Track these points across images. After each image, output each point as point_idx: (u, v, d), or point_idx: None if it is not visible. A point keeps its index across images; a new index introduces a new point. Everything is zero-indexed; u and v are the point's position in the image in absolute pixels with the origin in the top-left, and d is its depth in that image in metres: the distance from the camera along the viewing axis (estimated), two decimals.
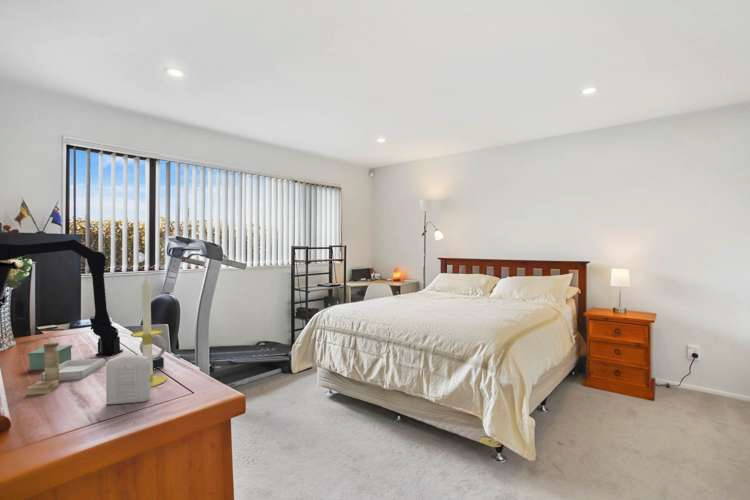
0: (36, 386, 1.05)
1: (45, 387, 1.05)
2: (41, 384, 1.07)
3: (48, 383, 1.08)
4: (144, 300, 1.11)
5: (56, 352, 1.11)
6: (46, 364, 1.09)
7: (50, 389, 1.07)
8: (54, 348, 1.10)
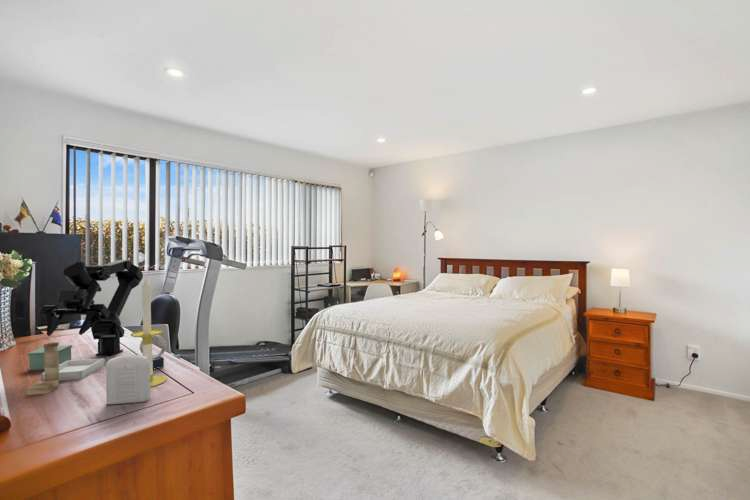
0: (36, 386, 1.05)
1: (45, 387, 1.05)
2: (41, 384, 1.07)
3: (48, 383, 1.08)
4: (144, 300, 1.11)
5: (56, 352, 1.11)
6: (46, 364, 1.09)
7: (50, 389, 1.07)
8: (54, 348, 1.10)
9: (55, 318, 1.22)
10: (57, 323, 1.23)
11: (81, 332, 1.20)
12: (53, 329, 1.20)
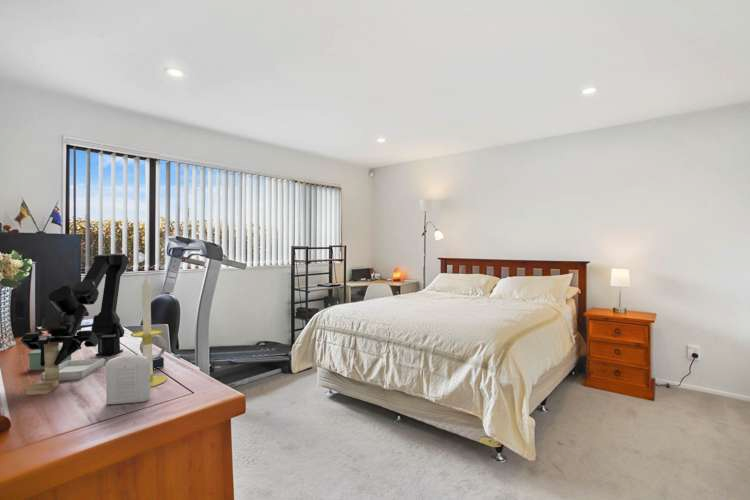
0: (36, 386, 1.05)
1: (45, 387, 1.05)
2: (41, 384, 1.07)
3: (48, 383, 1.08)
4: (144, 300, 1.11)
5: (56, 352, 1.11)
6: (46, 364, 1.09)
7: (50, 389, 1.07)
8: (54, 348, 1.10)
9: None
10: None
11: (57, 362, 1.10)
12: None
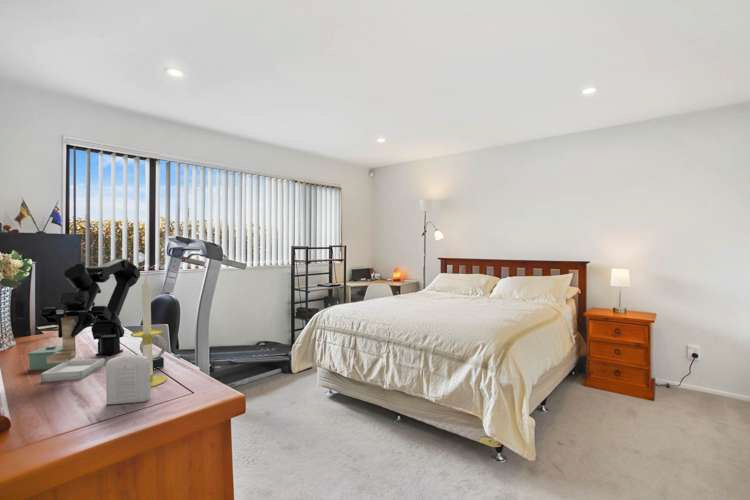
0: (55, 356, 1.13)
1: (64, 356, 1.13)
2: (60, 354, 1.15)
3: (66, 353, 1.16)
4: (144, 300, 1.11)
5: (73, 325, 1.19)
6: (64, 336, 1.18)
7: (68, 358, 1.15)
8: (71, 321, 1.18)
9: None
10: None
11: (73, 335, 1.18)
12: None
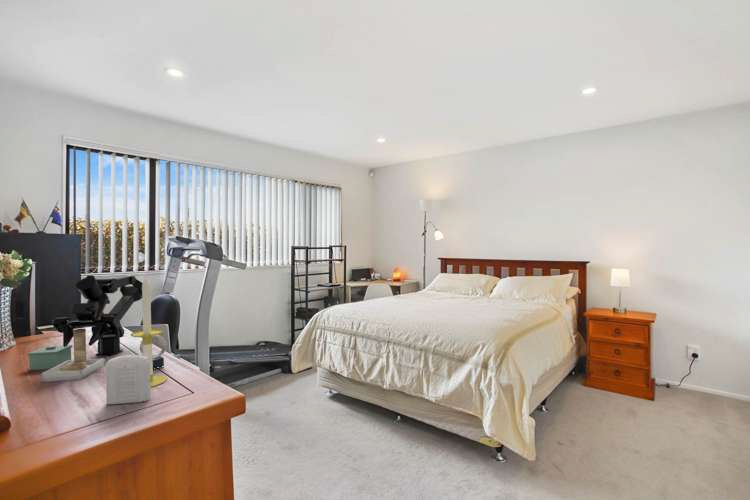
0: (67, 366, 1.19)
1: (76, 367, 1.19)
2: (71, 365, 1.21)
3: (77, 364, 1.21)
4: (144, 300, 1.11)
5: (84, 337, 1.25)
6: (75, 347, 1.23)
7: (80, 369, 1.21)
8: (82, 333, 1.24)
9: (70, 330, 1.27)
10: (72, 334, 1.27)
11: (91, 343, 1.24)
12: (69, 340, 1.25)
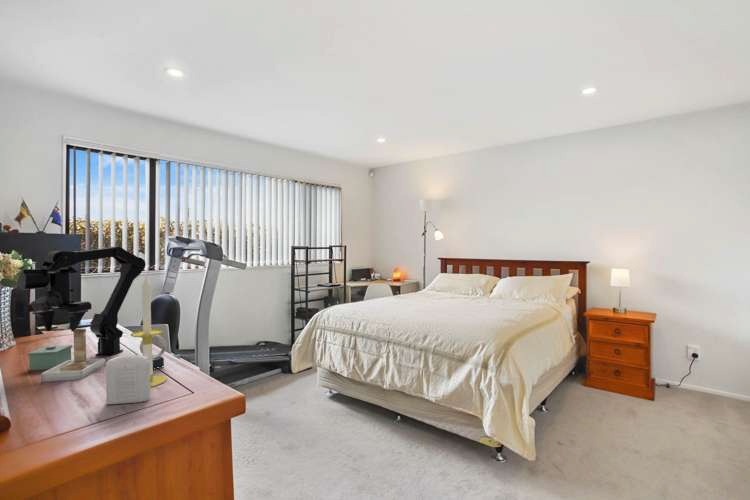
0: (67, 366, 1.19)
1: (76, 367, 1.19)
2: (72, 365, 1.21)
3: (77, 364, 1.21)
4: (144, 300, 1.11)
5: (84, 337, 1.25)
6: (75, 347, 1.23)
7: (80, 369, 1.21)
8: (82, 333, 1.24)
9: (47, 313, 1.30)
10: (51, 314, 1.32)
11: (73, 329, 1.29)
12: (50, 323, 1.31)
